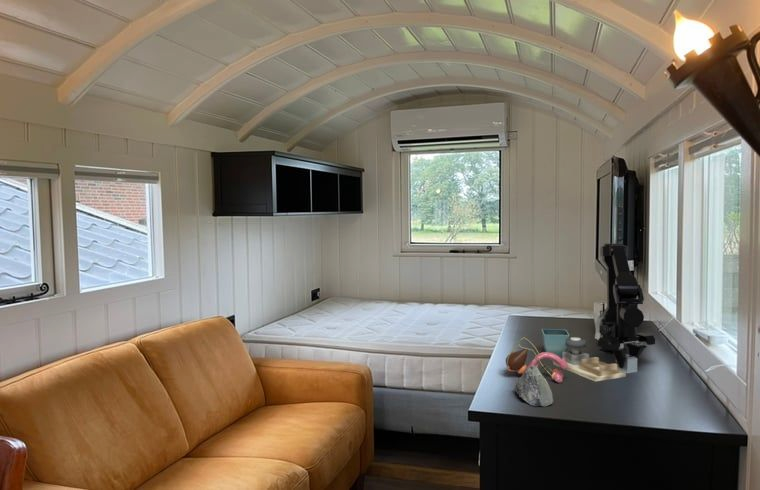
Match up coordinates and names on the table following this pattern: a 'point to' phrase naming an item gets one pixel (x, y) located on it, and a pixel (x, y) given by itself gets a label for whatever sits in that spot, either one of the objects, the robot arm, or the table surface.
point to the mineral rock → (534, 388)
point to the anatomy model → (534, 361)
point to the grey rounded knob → (575, 344)
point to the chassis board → (590, 367)
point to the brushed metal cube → (629, 364)
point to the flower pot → (555, 341)
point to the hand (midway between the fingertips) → (626, 367)
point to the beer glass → (598, 315)
